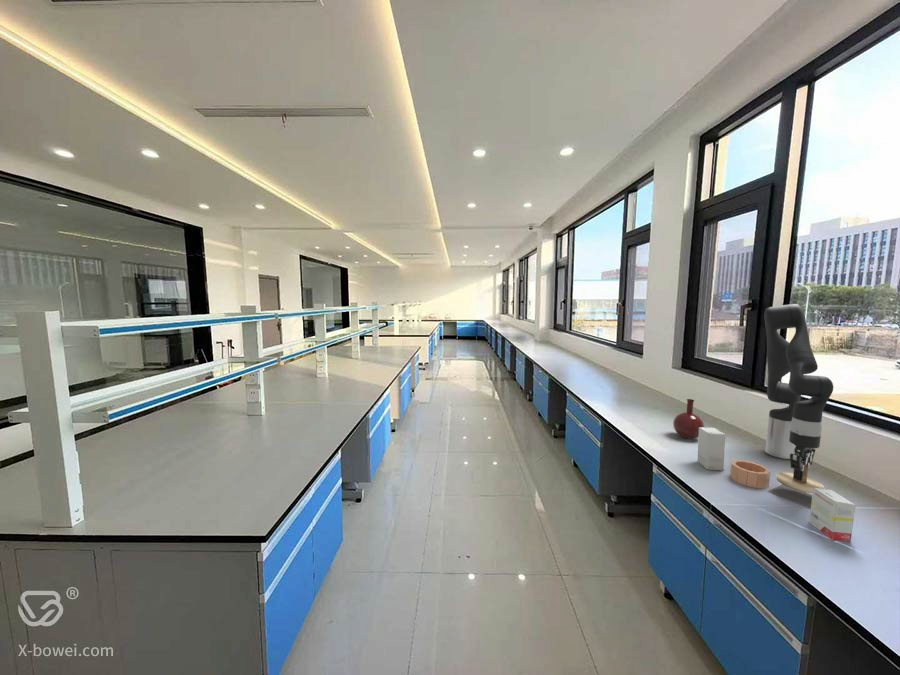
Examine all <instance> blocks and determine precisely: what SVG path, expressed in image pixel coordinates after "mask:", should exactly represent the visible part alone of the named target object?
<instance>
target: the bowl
mask: <svg viewBox="0 0 900 675" xmlns="http://www.w3.org/2000/svg"><path fill="white" fill-rule="evenodd" d="M729 476H730V479H731V480H733V481H735V482H736V483H738V484H741V485H744V486H746V487H750V488H754V489H767V488H768V487H770V486H769V485H770V477H771V471H770V469H769V468H768V467H767V466H766V467H765V466H764V465H761V464H758V463H757V462H753V461H747V460H742V459H741V460H740V459H735V460H732V461H731V464H730V474H729Z"/></svg>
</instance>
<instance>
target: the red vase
mask: <svg viewBox="0 0 900 675" xmlns="http://www.w3.org/2000/svg"><path fill="white" fill-rule="evenodd" d="M686 402H687V403H686V411H685V412H684V411H683V412H681V413H678V414H677V415H676V416H675V417H674V419H673V422H672V424H673V425H672V426H673V429H674V431H675V432H676V433H677V435H678V436H680V437H682V438H683V439H687V440H693V439H698V438H699V427H703V428H706V427H705V422H704V421H703V419H702V418H701V417H700V416H699V415H697V414H696V413H693V412H694V402H695V399H692V398H686Z"/></svg>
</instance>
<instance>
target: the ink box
mask: <svg viewBox="0 0 900 675" xmlns="http://www.w3.org/2000/svg"><path fill="white" fill-rule="evenodd" d="M855 513H856V504H855V503H853V502H851V501H849V500H848V499H847V498H845V497H843V495H840V494H839V493H837V492H835V491H834V490H832V489H826V488H824V489H820V488H813V493H812V503H811V508H810V512H809V521H808V522H809V523H810V524H811V525H813V526H814V527H815V529H818V530H819V531H820V532H821V533H823V534H824V535H826V536H827V538H829V539H830V540H832V541H841V542H852V533H853V526H854V521H855V520H854V519H855Z"/></svg>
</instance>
